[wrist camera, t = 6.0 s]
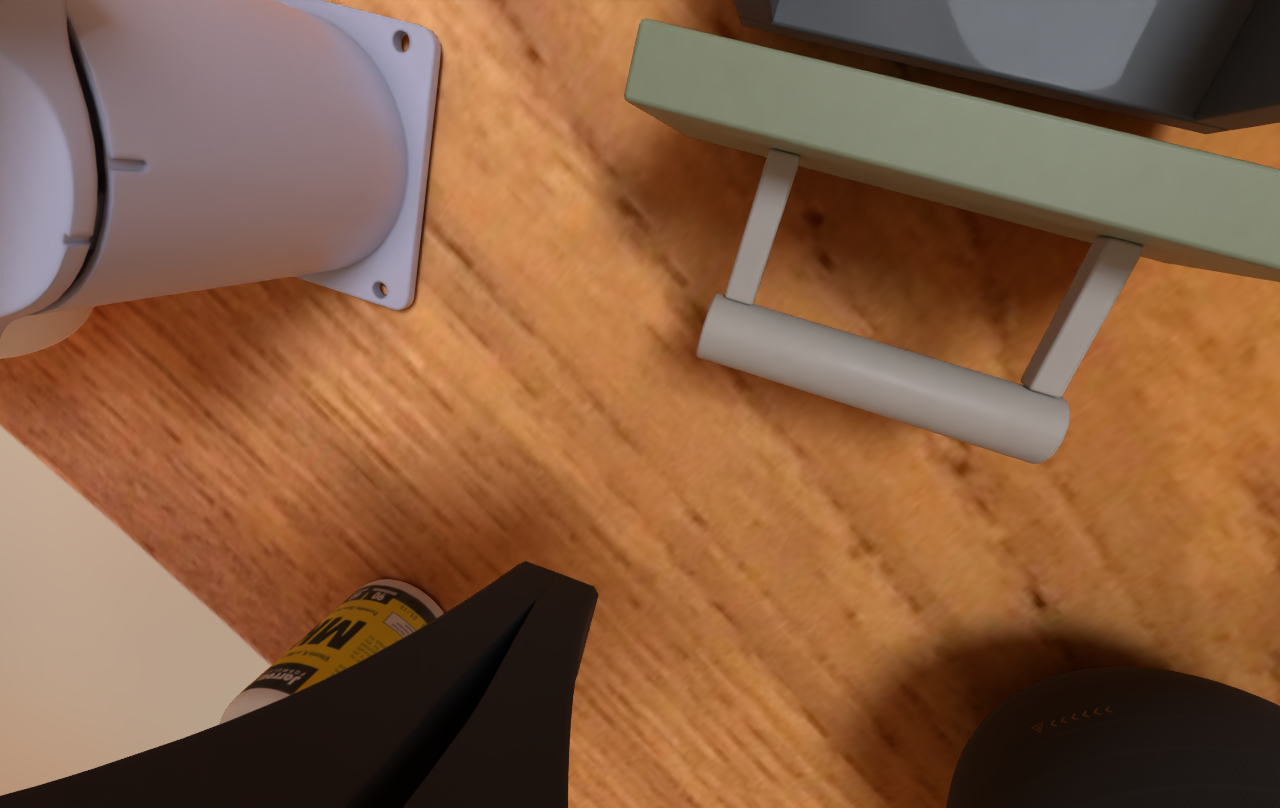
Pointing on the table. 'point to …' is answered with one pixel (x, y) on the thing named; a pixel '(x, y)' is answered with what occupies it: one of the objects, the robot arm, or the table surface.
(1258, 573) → the table surface
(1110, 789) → the speaker
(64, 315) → the figurine
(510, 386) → the table surface
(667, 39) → the drawer
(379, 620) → the supplement bottle
